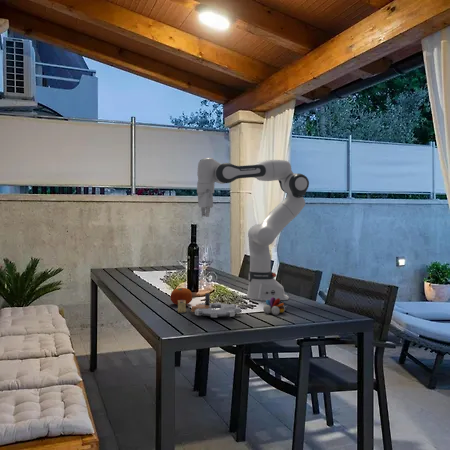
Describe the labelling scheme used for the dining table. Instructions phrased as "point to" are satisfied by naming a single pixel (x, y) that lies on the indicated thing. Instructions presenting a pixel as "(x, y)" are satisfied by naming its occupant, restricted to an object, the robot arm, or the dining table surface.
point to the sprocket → (215, 308)
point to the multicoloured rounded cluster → (274, 306)
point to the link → (181, 305)
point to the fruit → (181, 295)
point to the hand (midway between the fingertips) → (205, 216)
